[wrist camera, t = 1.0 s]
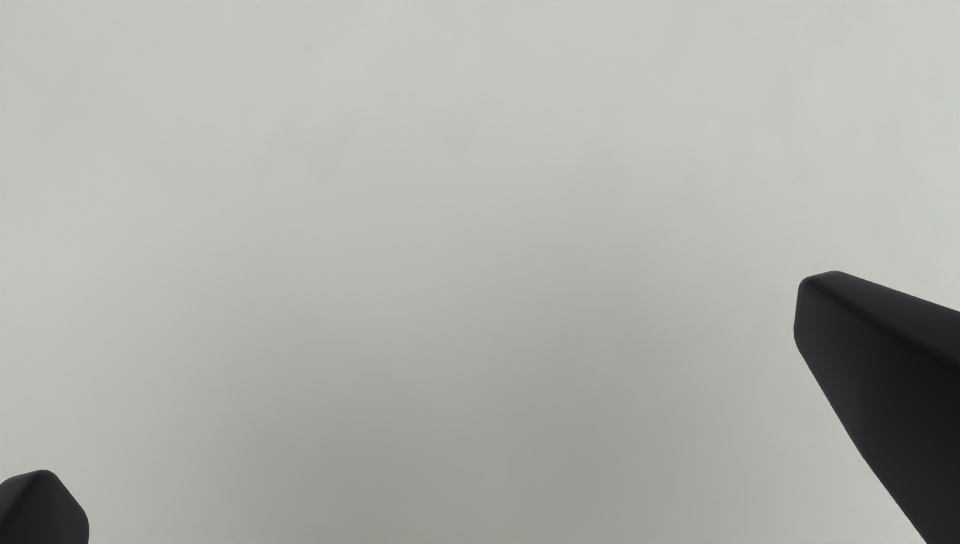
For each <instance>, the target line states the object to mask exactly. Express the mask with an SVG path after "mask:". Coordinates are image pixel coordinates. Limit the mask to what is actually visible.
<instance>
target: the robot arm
mask: <svg viewBox="0 0 960 544" xmlns="http://www.w3.org/2000/svg"><path fill="white" fill-rule="evenodd" d="M794 339H795V343H796V345H797V348H798V350H799V352H800V353H801V355H802V357H803V358H804V360H805V362H806V363H807V365H808V367H809V369H810V370H811V372H812V374H813V375H814V377H815V379H816V380H817V382H818V384H819V385H820V387H821V389H822V391H823V392H824V394H825V396H826V397H827V399H828V401H829V402H830V404H831V406H832V408H833V409H834V411H835V413H836V414H837V416H838V418H839V419H840V421H841V423H842V425H843V426H844V428H845V430H846V431H847V433H848V435H849V436H850V438H851V440H852V441H853V443H854V444H855V446H856V447H857V449H858V451H859V452H860V454H861V455H862V457H863V458H864V459H865V461H866V462H867V464H868V465H869V466H870V468H871V469H872V471H873V472H874V473H875V475H876V476H877V477H878V479H879V480H880V481H881V483H882V484H883V485H884V487H885V488H886V489H887V491H888V492H889V493H890V495H891V496H892V497H893V499H894V500H895V502H896V503H897V504H898V506H899V507H900V508H901V510H902V511H903V512H904V514H905V515H906V516H907V518H908V519H909V520H910V522H911V523H912V524H913V526H914V527H915V528H916V530H917V531H918V532H919V534H920V535H921V536H922V538H923V539H924V540H925V542H926V543H927V544H960V312H959V311H956V310H953V309H950V308H947V307H944V306H941V305H938V304H935V303H932V302H929V301H926V300H923V299H920V298H917V297H914V296H911V295H909V294H906V293H903V292H900V291H897V290H894V289H891V288H888V287H885V286H882V285H879V284H876V283H873V282H870V281H867V280H864V279H861V278H858V277H855V276H852V275H849V274H846V273H843V272H840V271H829V272H825V273H821V274H817V275H813V276H809V277H806V278H805V279H803V280H802V281H801V283H800V285H799V288H798V295H797V304H796V312H795V321H794ZM88 540H89V523H88V518H87V516H86V514H85V512H84V510H83V509H82V507H81V506H80V505H79V504H78V502H77V501H76V500H75V499H74V497H73V496H72V495H71V494H70V492H69V491H68V490H67V488H66V487H65V486H64V485H63V483H62V482H61V481H60V480H59V478H58V477H57V476H56V475H55V474H54V473H52V472H51V471H48V470H37V471H33V472H29V473H25V474H22V475H18V476H14V477H11V478H9V479H7V480H5V481H4V482H3V483H1V484H0V544H88Z"/></svg>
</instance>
